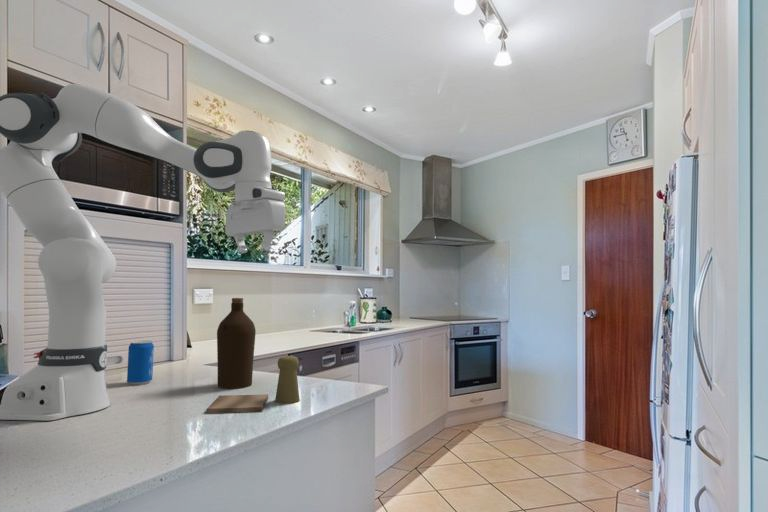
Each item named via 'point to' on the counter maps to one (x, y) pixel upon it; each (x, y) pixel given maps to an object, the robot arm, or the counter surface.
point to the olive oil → (235, 348)
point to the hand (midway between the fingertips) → (253, 251)
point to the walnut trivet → (238, 403)
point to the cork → (287, 381)
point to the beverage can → (140, 362)
